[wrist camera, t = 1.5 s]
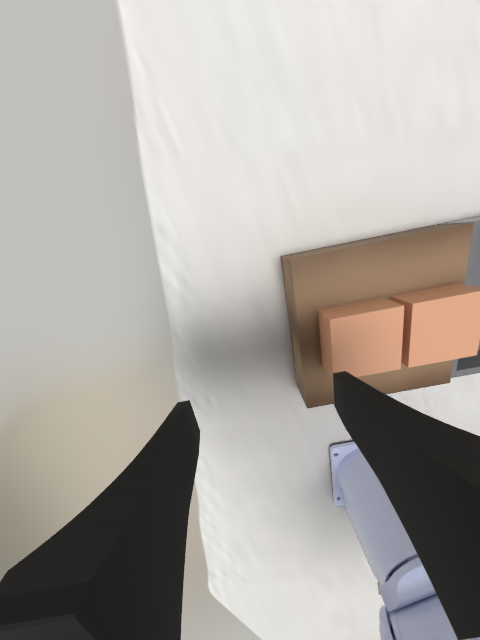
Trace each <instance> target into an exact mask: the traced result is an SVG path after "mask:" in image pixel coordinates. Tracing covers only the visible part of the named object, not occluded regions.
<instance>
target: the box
mask: <svg viewBox="0 0 480 640" xmlns="http://www.w3.org/2000/svg"><path fill="white" fill-rule="evenodd" d="M472 222H474V224H473V231H472V237H471V244H470V251H469V257H468V264H467V271H466V278H465V284H464V285H470V286H475V287H480V216H476V217H471V218H467V219H462V220H457V221H452V222H447V223H442V224H437V225H445V224H458V223H472ZM475 373H480V341H479V346H478V352H477V355H476V356H470V357H465V358H459V359H454V360H453V365H452V372H451V378H453V377H459V376H464V375H470V374H475Z"/></svg>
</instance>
